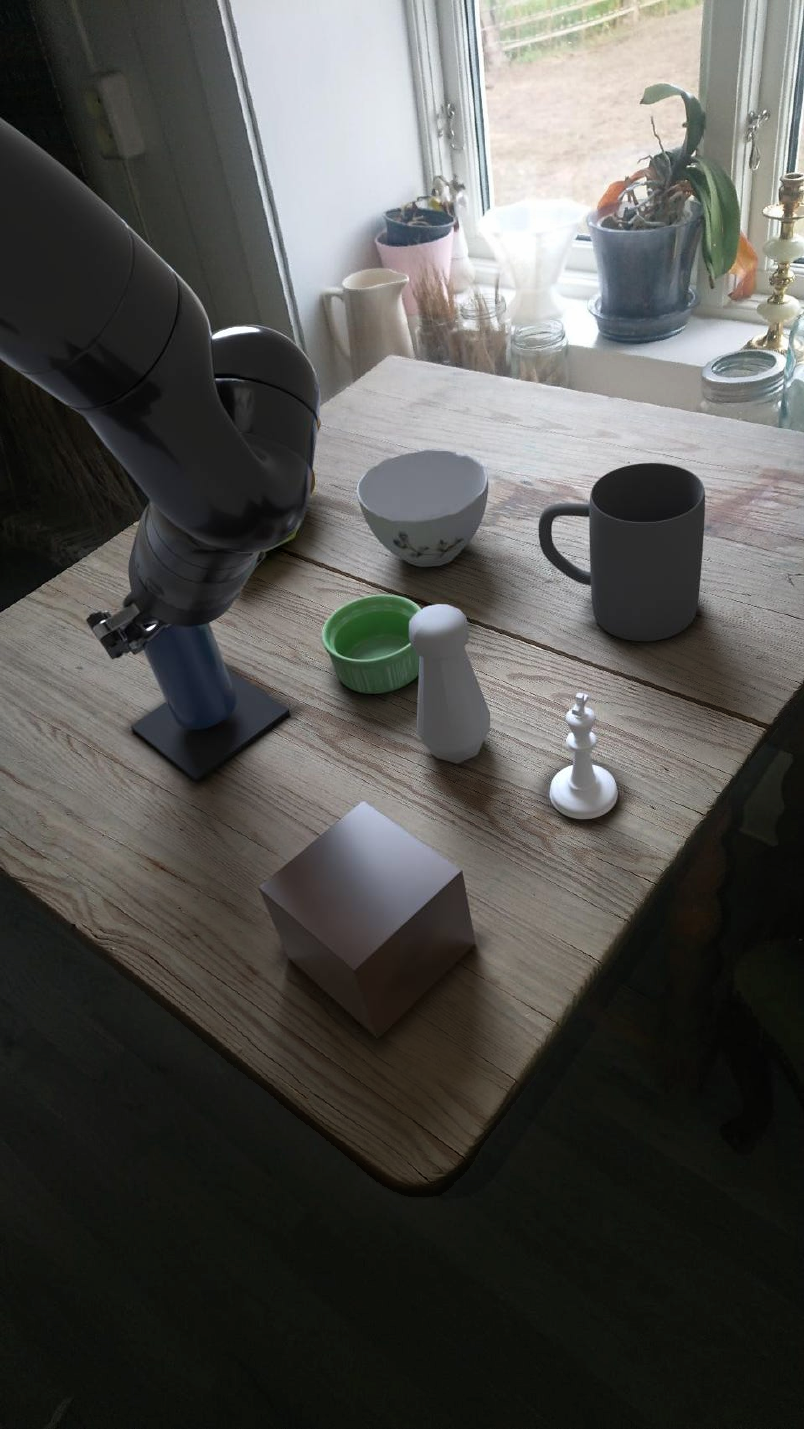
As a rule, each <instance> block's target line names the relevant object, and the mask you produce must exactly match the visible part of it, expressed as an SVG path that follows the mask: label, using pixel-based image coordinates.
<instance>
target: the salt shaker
mask: <svg viewBox="0 0 804 1429" xmlns="http://www.w3.org/2000/svg"><path fill="white" fill-rule="evenodd" d="M409 640H410V644H411V645H412V647H413V648H414V650H415V651H416V653H417V654H418V655H420V656H419V674H418V683H417V684H418V686H417V688H418V689H417V692H418V693H417V716H416V733H417V735H418V737H419V738H420V740H421V741H422V743H423V744H424V746H425V747H426V748H427V749H428V751H430V752H431V754H432V755H433V756H434V757H435V758H436V759H438V760H443V761H446V762H450V763H452V764H453V763H454V764H461V763H462V762H464V761H466V760H469V759H472V758H474V757H476V756H478V755H479V753H480V750H481V749H482V746H483V744H484V742H485V739H486V738H487V736H488V734H489V733H490V731H491V712H490V709H489V707H488V704H487V702H486V699H485V696H484V693H483V690H482V688H481V687H480V683H479V681H478V678H477V676H476V673H475V671H474V668H473V665H472V663H471V660H470V658H469V655H468V653H467V649H466V645H467V644H468V641H469V622H468V620H467V616H466V615H465V614H464V612H462V610H461V609H460V608H457V607H455V606H452V605H449V604H444V603H443V604H442V603H441V604H440V603H436V604H431V605H427V606H425V607H423V608H421V610H420V611H418V612H417V613H416V614H415V615H414V616H413V617H412V619H411V620H410V621H409Z"/></svg>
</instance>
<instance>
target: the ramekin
mask: <svg viewBox="0 0 804 1429" xmlns="http://www.w3.org/2000/svg"><path fill="white" fill-rule="evenodd" d="M420 610H422V608H421V607H420V606H419V605H418V604H417V603H415V602H414V601H413V600H411V599H409V598H406V597H403V596H400V595H394V594H373V595H369V596H363V597H359V598H357V599H354V600H351V601H349V602H347V603H345V604H343V605H342V606H340V607H338V608H337V609H336V610H335V611H333V612H332V613H331V614H330V615H329V617H328V618H327V620H326V621H325V622H324V625H323V626H322V630H321V642H322V645H323V647H324V649H325V651H326V653H327V654H328V655H329V658H330V660H331V664H332V666H333V669H334V671H335V674H336V676H337V677H338V680H339V681H340V682H341V683H342V684H343V685H344V686H346V687H347V688H348V689H350V690H352V691H355V692H358V693H362V694H371V695H373V694H375V695H376V694H385V693H389V692H393V691H396V690H398V689H401V688H403V687H405V686H406V685H408V684H410V683H411V682H412V681H414V680H415V679H416V678H417V677H419V656H420V655H418V654H417V653H416V651H415V650H414V648H413V647H412V645H411V644H410V640H409V621H410V620H411V619H412V617H413V616H414V615H415V614H416V613H417V612H418V611H420Z"/></svg>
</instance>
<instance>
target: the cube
mask: <svg viewBox="0 0 804 1429" xmlns="http://www.w3.org/2000/svg"><path fill="white" fill-rule="evenodd" d="M257 889H258V892H259V893H260V895H261V898H262V900H263V902H264V905H265V907H266V910H267V911H268V914H269V916H270V919H271V921H272V923H273V926H274V928H275V930H276V932H277V935H278V938H279V940H280V942H281V944H282V947H283V949H284V951H285V953H286V956H287V958H289V960H290V961H291V962H292V963H294V965H295V966H297V967H298V968H299V969H300V970H301V971H302V972H304V973H305V974H306V975H307V976H308V977H309V978H310V979H311V980H312V981H313V982H314V983H315V984H317V985H318V986H319V987H320V988H321V989H322V990H323V991H324V992H326V994H328V996H330V997H331V998H332V999H333V1000H334V1001H335V1002H336V1003H338V1004H339V1005H340V1007H342V1008H343V1009H344V1010H345V1011H346V1012H348V1013H349V1014H350V1015H351V1016H352V1017H353V1018H354V1019H355V1020H356V1021H357V1022H358V1023H359V1024H360V1025H362V1026H363V1027H364V1028H365V1029H366V1030H367V1031H368V1032H369V1033H370V1034H372V1035H373V1037H375V1038H376V1039H377V1040H379V1039H380V1038H381V1037H382V1036H383V1035H384V1034H385V1033H386V1032H387V1031H388V1030H389V1029H390V1028H391V1027H392V1026H393V1025H394V1024H396V1022H398V1020H400V1018H401V1017H403V1015H404V1014H405V1013H406V1012H408V1010H409V1009H411V1007H413V1005H415V1003H417V1001H419V999H420V998H422V997H423V996H424V995H425V994H426V993H427V992H428V991H429V990H430V989H431V988H432V987H433V986H434V985H435V984H436V983H437V982H438V981H439V980H440V979H441V978H442V977H443V976H444V975H445V974H446V973H447V972H448V971H449V970H450V969H451V968H452V967H453V966H454V965H455V964H456V963H458V961H459V960H460V959H461V958H462V957H463V956H464V955H465V954H467V953H468V951H470V950H471V948H472V947H473V946H475V945H476V944H477V942H476V936H475V933H474V926H473V921H472V916H471V910H470V905H469V900H468V898H469V897H468V893H467V888H466V883H465V878H464V871H463V870H462V869H461V868H460V867H459V866H457V865H455V864H454V863H453V862H451V861H450V860H449V859H447V858H445V857H444V856H443V855H441V854H440V853H438V852H437V851H436V850H434V848H432V847H430V846H429V845H427V844H426V843H424V842H423V841H422V840H420V839H419V838H418V837H416V836H415V835H414V834H412V833H410V832H409V831H407V830H406V829H405V828H403V827H402V826H400V825H399V824H398V823H396V822H395V821H393V820H392V819H390V818H389V817H388V816H386V815H385V814H384V813H382V812H381V811H379V810H378V809H376V808H375V807H373V806H372V805H370V804H369V803H368V802H366V801H365V800H362V801H360V802H359V803H358V804H356V805H355V806H354V807H353V808H352V809H351V810H349V811H348V812H347V813H346V814H345V815H344V816H342V817H341V818H340V819H339V820H338V821H337V822H335V823H334V824H333V825H331V826H330V827H329V828H328V829H326V830H325V831H324V832H323V833H322V834H320V835H319V836H318V837H317V838H316V839H315V840H313V841H312V842H311V843H310V844H308V845H307V846H306V847H305V848H304V849H302V851H301V852H299V853H298V854H296V855H295V856H294V857H293V858H292V859H290V860H289V861H288V862H287V863H286V864H285V865H283V866H282V867H281V868H280V869H278V870H277V871H276V872H274V874H272V876H270V877H269V878H268V879H267V880H265V881H264V882H263V883H262V884H261V885H259V886H258V887H257Z"/></svg>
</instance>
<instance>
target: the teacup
mask: <svg viewBox="0 0 804 1429" xmlns="http://www.w3.org/2000/svg"><path fill="white" fill-rule="evenodd" d="M488 495H489V475H488V472H487V468H486V467H485V466H484V465H483V463H482V462H481V461H480V460H478V459H476V458H474V457H473V456H471V455H469V454H467V453H464V454H458V453H457V452H456V451H453V450H448V449H440V448H438V449H436V448H429V449H422V450H418V451H414V452H407V453H404V454H400V455H398V456H394V457H387V458H386V459H383V460H382V461H380V462H379V463H378V464H377V465H374V466H371V467H370V468H369V469H368V470H367V471H366V472H365V473H364V474H363V476H362V477H361V478H360V480H359V481H358V484H357V487H356V497H357V501H358V504H359V507H360V509H361V512H362V515H363V517H364V520H365V521H366V522H365V523H367V525H368V527H369V529H370V531H371V532H372V534H373V535H374V537H375V538H376V539H377V541H378V542H380V544H381V545H382V546H383V547H384V548H385V549H387V550H388V551H389V552H390V553H391V554H392V555H394V556H396V557H397V558H400V559H401V560H404V561H405V562H406V563H407V564H410V565H413V566H416V567H420V568H422V567H423V568H427V567H441V566H443V565H445V564H448V563H451V561H453V560H454V559H455V558H456V557H457V556H458V555H459V554H460V553H461V551H462V550H463V549H464V548H465V547H466V546H467V545H468V544H470V542H471V540H472V539H473V538H474V536H475V535H476V533H477V531H478V530H479V528H480V525H481V523H482V521H483V518H484V515H485V511H486V507H487V502H488Z"/></svg>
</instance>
